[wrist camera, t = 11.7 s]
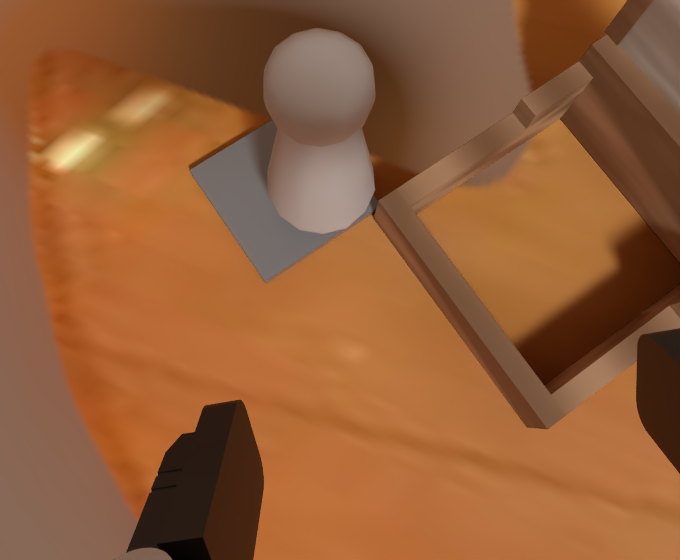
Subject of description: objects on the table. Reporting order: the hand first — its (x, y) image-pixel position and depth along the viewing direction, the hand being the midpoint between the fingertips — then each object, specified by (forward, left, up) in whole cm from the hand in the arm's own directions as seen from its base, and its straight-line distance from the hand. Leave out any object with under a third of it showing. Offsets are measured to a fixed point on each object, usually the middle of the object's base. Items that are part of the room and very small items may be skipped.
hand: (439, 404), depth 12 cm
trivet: (-3, -13, -20) cm, 24 cm away
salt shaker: (-5, -11, -20) cm, 23 cm away
